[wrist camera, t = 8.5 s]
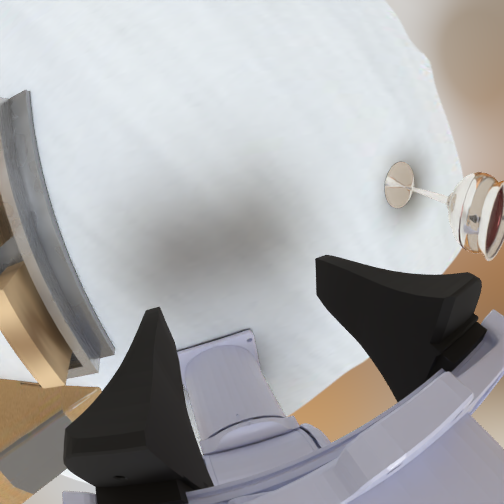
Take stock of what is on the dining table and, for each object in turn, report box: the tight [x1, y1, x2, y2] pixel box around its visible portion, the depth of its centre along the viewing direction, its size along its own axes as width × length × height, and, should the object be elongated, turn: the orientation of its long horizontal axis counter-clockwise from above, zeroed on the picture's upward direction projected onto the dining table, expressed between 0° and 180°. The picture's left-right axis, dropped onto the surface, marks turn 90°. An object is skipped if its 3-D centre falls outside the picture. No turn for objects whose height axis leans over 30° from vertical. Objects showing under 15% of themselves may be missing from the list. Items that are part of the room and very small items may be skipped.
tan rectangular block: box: [0, 261, 72, 389], centre depth 15 cm, size 8×2×4 cm, turn 9°
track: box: [0, 90, 115, 379], centre depth 13 cm, size 22×9×5 cm, turn 9°
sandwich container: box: [0, 379, 102, 504], centre depth 15 cm, size 9×15×15 cm, turn 84°
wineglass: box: [385, 162, 504, 261], centre depth 20 cm, size 7×7×12 cm
